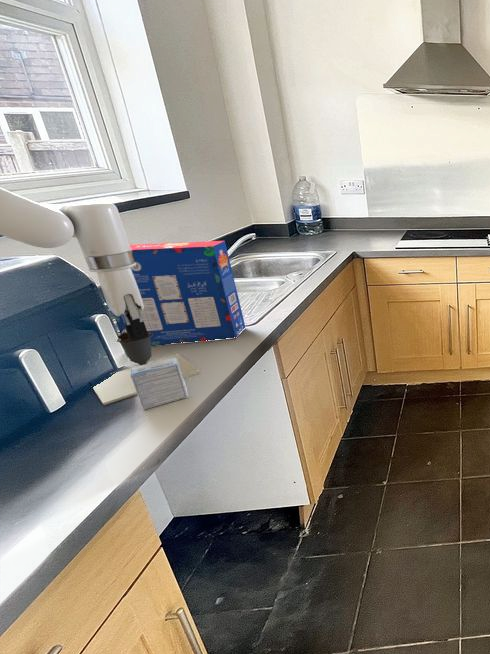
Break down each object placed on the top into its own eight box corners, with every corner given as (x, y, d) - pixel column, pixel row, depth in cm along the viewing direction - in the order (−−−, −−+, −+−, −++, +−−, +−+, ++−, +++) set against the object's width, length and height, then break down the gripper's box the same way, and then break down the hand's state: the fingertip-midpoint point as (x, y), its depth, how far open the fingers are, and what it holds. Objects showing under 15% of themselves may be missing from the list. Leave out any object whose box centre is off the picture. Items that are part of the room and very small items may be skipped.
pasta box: (245, 328, 130) (224, 240, 121) (236, 339, 123) (213, 246, 114) (142, 337, 124) (111, 245, 115) (125, 348, 117) (91, 251, 108)
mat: (103, 405, 90) (102, 403, 90) (89, 382, 99) (88, 380, 99) (200, 373, 104) (199, 371, 103) (179, 355, 113) (179, 353, 113)
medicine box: (187, 389, 96) (176, 356, 93) (188, 397, 93) (177, 363, 90) (143, 402, 92) (130, 367, 89) (142, 411, 88) (130, 375, 85)
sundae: (157, 370, 104) (141, 312, 101) (168, 373, 101) (152, 314, 98) (124, 380, 99) (105, 320, 96) (134, 384, 96) (115, 321, 92)
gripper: (81, 259, 90) (110, 335, 97) (94, 270, 82) (126, 353, 88) (125, 252, 96) (151, 325, 102) (142, 262, 87) (169, 341, 94)
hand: (139, 338), depth 95 cm, fingers closed
